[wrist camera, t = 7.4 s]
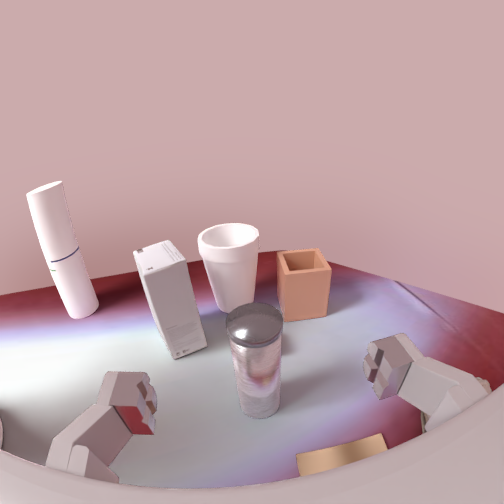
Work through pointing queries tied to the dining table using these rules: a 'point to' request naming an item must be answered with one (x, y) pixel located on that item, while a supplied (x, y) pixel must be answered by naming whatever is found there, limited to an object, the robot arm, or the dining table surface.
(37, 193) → the cylindrical container
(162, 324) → the skincare box
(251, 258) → the foam cup
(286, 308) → the terracotta planter
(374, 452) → the cork coaster
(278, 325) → the tin canister
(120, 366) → the dining table surface
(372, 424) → the dining table surface
